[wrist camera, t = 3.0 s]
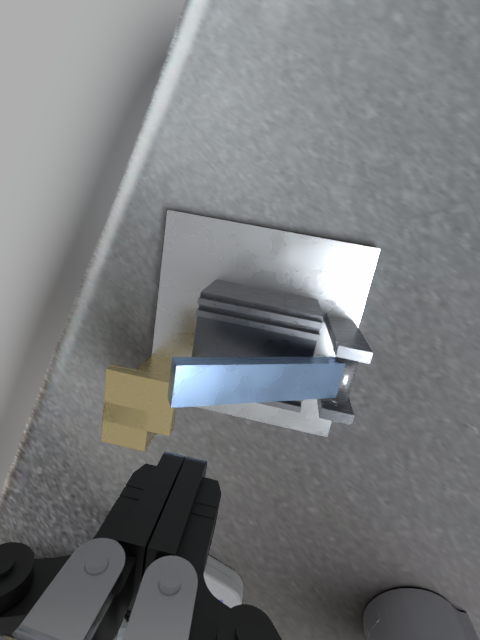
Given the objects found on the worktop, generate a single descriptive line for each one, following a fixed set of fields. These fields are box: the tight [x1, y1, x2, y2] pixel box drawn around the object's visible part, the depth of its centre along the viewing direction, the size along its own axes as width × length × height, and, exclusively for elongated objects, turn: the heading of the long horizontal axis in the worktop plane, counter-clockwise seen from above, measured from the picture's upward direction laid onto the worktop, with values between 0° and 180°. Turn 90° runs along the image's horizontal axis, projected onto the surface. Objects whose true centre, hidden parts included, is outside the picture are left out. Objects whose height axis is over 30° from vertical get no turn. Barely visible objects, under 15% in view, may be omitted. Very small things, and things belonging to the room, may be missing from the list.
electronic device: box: [204, 555, 243, 608], centre depth 34 cm, size 5×10×15 cm
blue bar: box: [167, 356, 359, 408], centre depth 21 cm, size 12×3×1 cm
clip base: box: [152, 210, 380, 437], centre depth 26 cm, size 16×16×8 cm
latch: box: [101, 355, 176, 452], centre depth 27 cm, size 4×5×8 cm
